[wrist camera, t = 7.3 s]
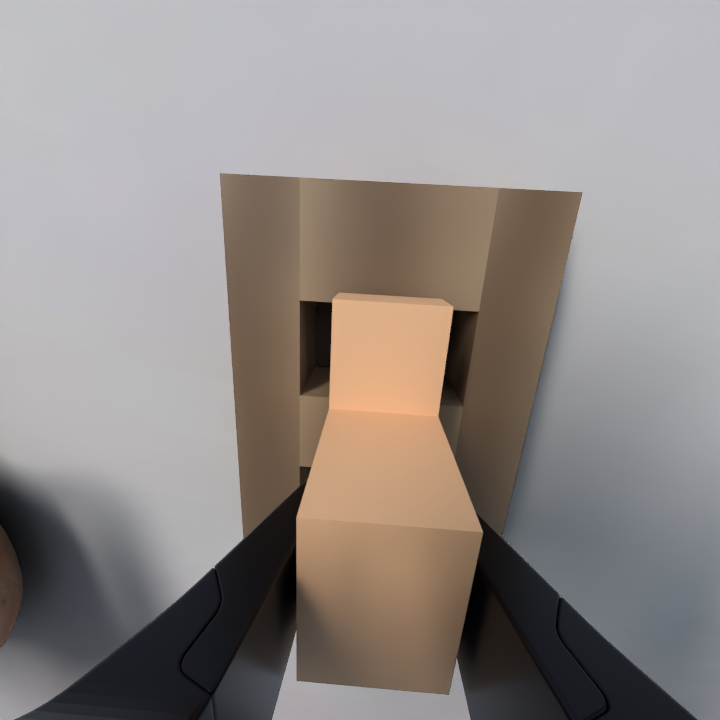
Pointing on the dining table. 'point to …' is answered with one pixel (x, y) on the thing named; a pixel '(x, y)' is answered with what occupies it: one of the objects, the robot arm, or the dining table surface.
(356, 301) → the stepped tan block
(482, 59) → the dining table surface
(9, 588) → the ceramic jug
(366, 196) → the brown slotted block
